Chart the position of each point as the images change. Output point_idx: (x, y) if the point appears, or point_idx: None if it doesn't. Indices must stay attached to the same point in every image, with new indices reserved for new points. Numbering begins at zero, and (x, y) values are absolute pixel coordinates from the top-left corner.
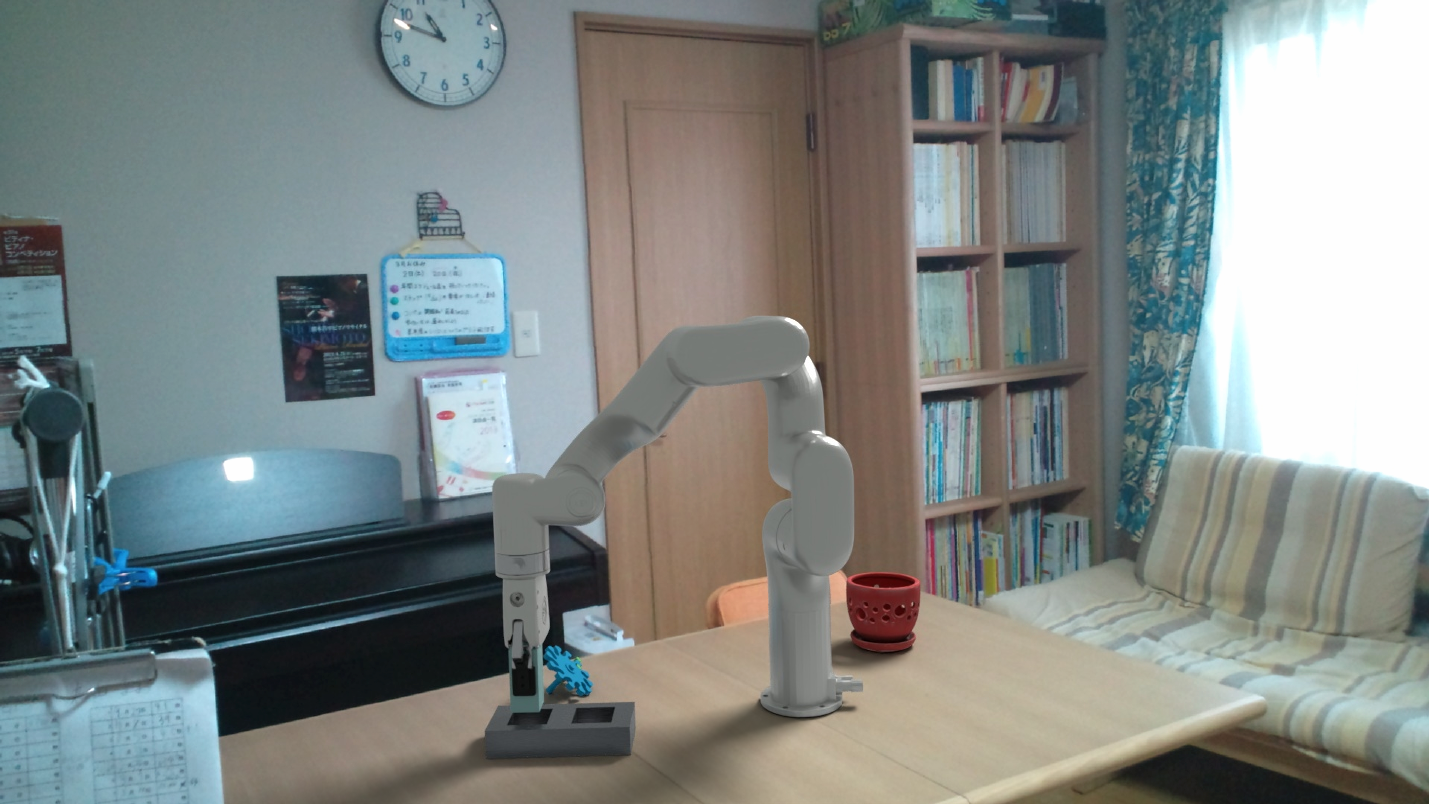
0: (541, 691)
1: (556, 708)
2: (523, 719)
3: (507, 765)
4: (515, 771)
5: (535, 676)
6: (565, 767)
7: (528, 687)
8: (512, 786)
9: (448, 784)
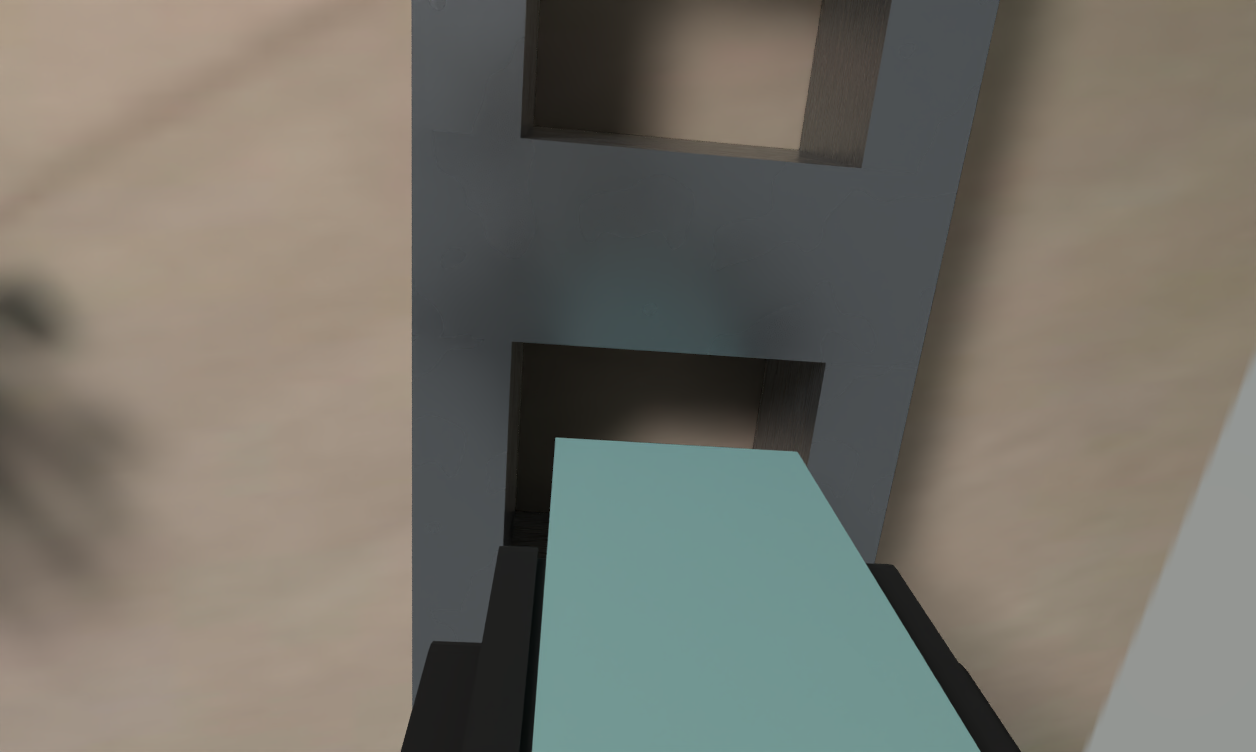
0: (678, 506)
1: (515, 313)
2: (509, 518)
3: (894, 505)
4: (980, 456)
5: (945, 687)
6: (1016, 181)
7: (969, 678)
8: (1150, 450)
9: (1022, 722)
